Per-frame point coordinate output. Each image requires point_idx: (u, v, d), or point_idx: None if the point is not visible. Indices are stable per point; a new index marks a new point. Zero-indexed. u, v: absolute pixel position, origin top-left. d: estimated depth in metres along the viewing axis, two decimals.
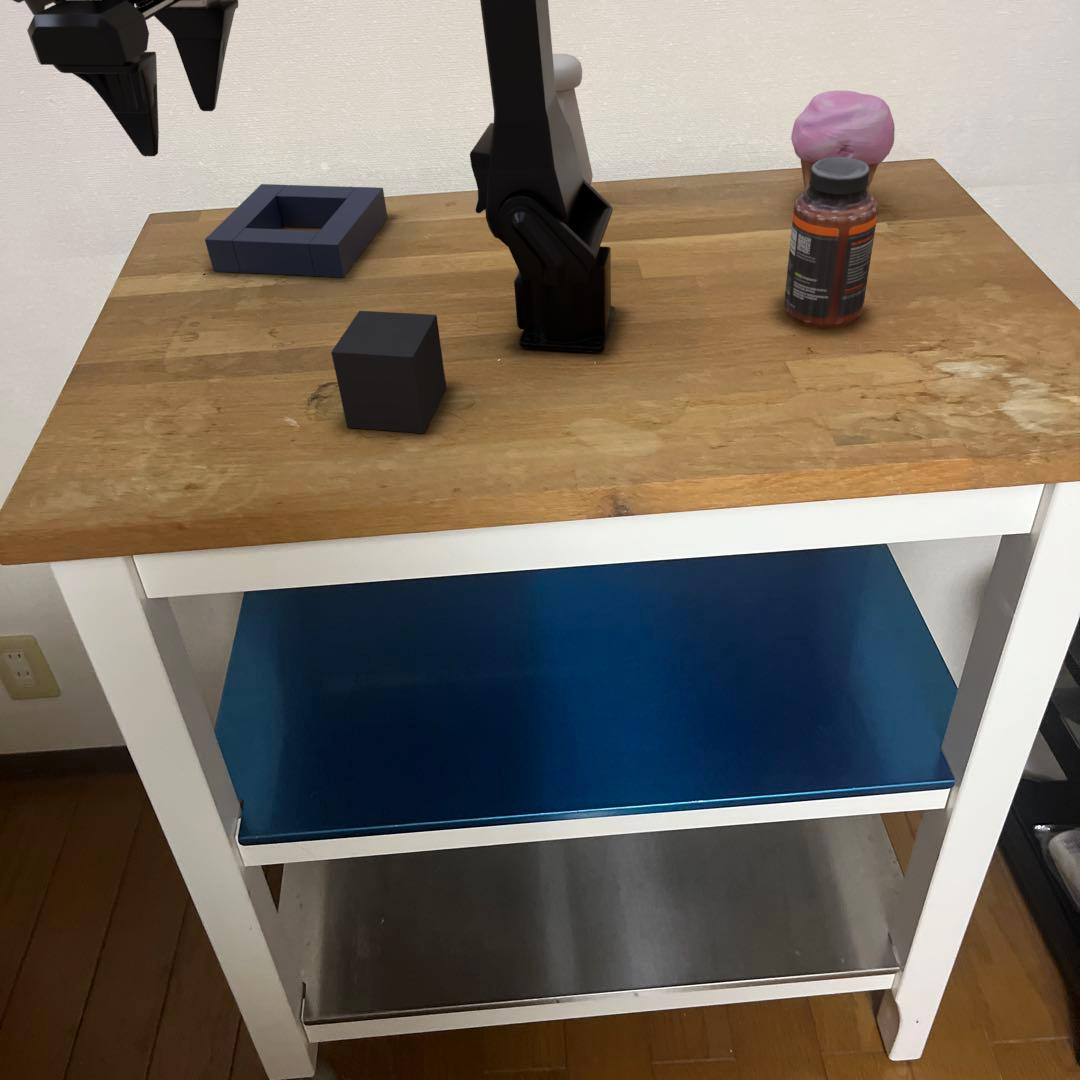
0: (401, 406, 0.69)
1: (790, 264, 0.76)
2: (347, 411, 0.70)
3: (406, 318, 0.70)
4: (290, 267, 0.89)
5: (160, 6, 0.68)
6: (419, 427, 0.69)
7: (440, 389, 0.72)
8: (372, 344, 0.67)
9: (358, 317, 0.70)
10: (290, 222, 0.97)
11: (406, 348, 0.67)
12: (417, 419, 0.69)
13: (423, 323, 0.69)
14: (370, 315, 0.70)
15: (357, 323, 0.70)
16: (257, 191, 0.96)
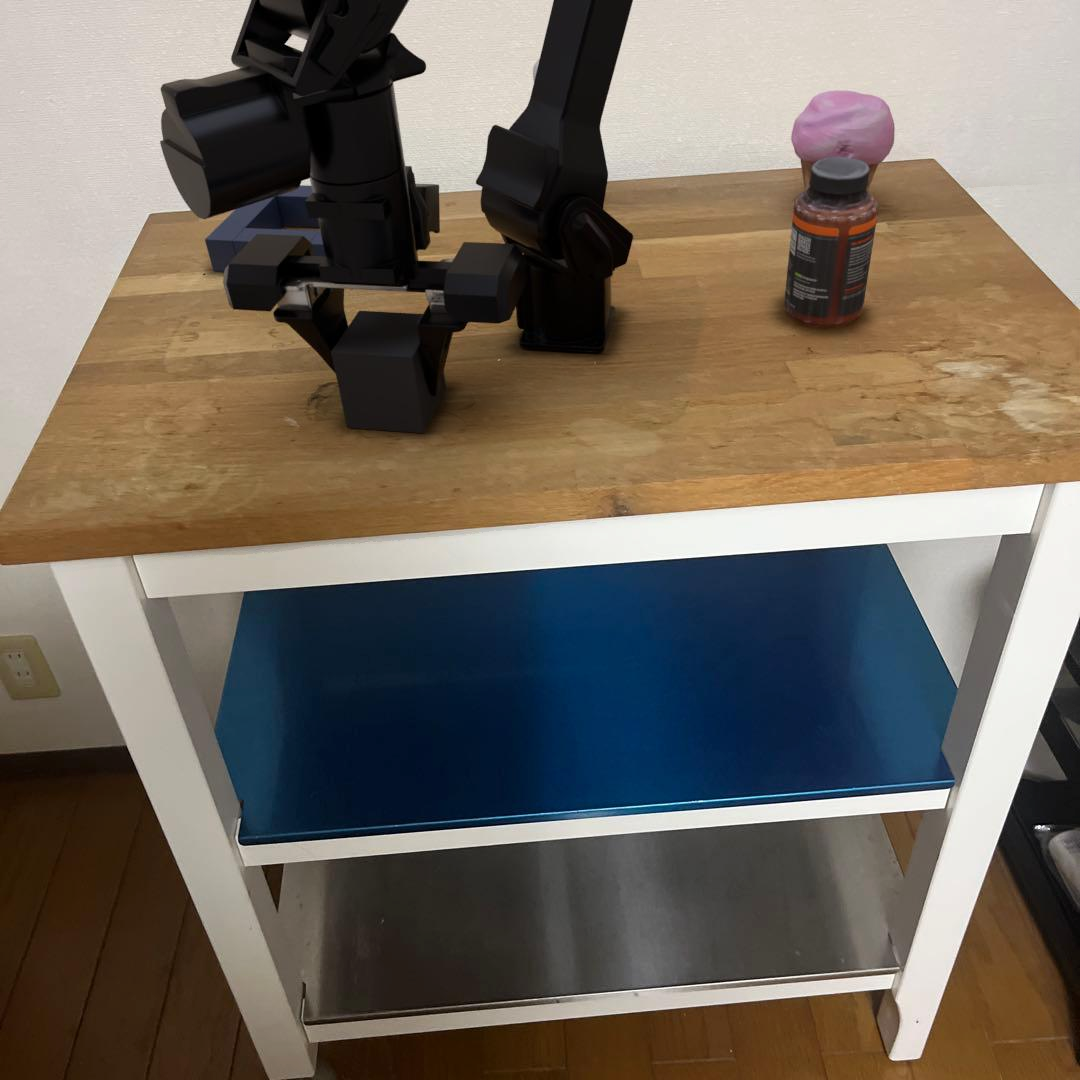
0: (401, 406, 0.69)
1: (790, 264, 0.76)
2: (347, 411, 0.70)
3: (406, 318, 0.70)
4: None
5: (350, 287, 0.65)
6: (419, 427, 0.69)
7: (440, 389, 0.72)
8: (372, 344, 0.67)
9: (358, 317, 0.70)
10: (290, 222, 0.97)
11: (406, 348, 0.67)
12: (417, 419, 0.69)
13: None
14: (370, 315, 0.70)
15: (357, 323, 0.70)
16: None
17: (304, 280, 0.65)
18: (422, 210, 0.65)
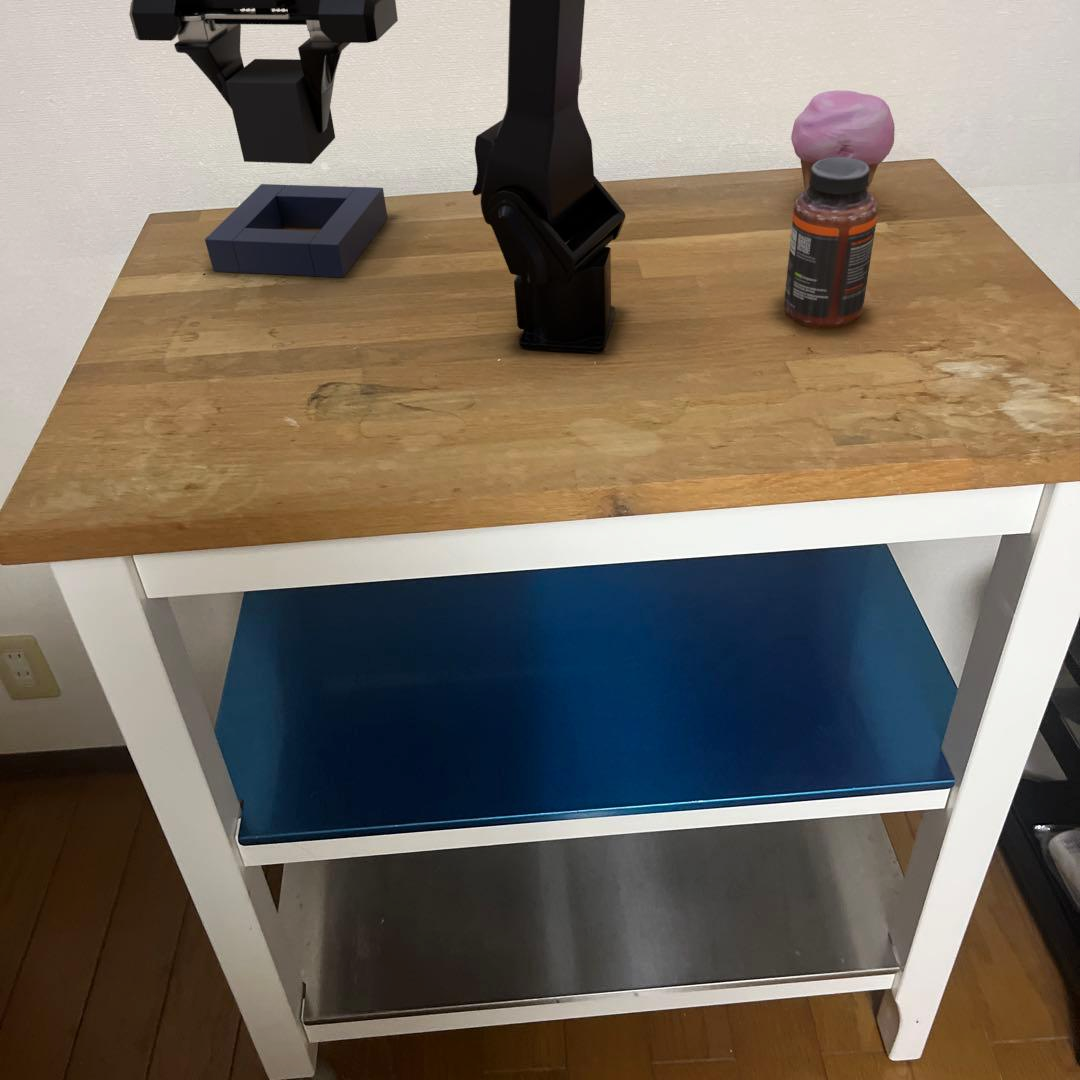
0: (289, 135, 0.78)
1: (790, 264, 0.76)
2: (243, 144, 0.79)
3: (295, 62, 0.79)
4: (290, 267, 0.89)
5: (240, 17, 0.74)
6: (306, 157, 0.79)
7: (329, 134, 0.82)
8: (262, 76, 0.77)
9: (253, 62, 0.80)
10: (290, 222, 0.97)
11: (291, 78, 0.76)
12: (304, 149, 0.79)
13: None
14: (264, 61, 0.80)
15: (251, 65, 0.79)
16: (257, 191, 0.96)
17: (200, 13, 0.75)
18: None
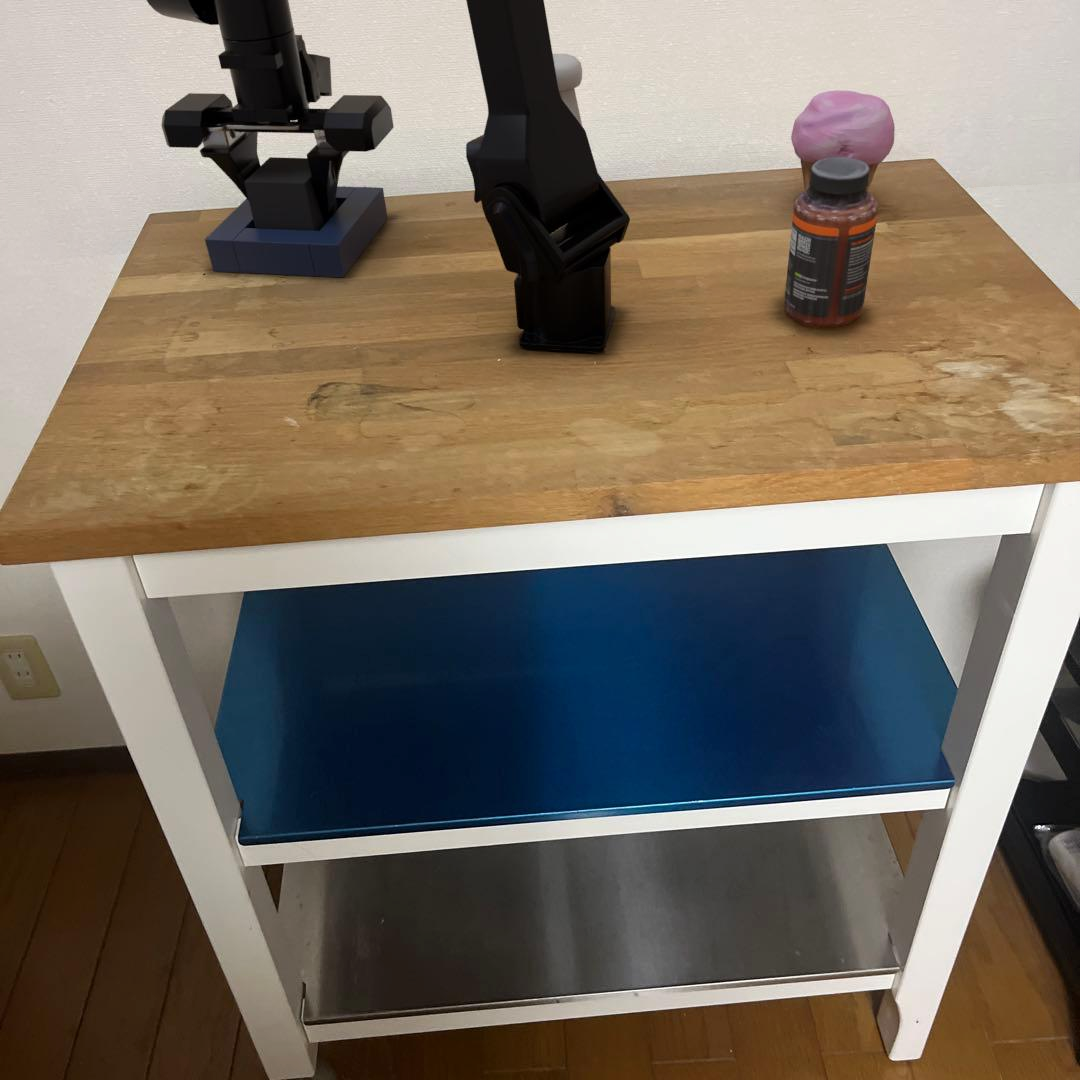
0: (299, 226, 0.89)
1: (790, 264, 0.76)
2: None
3: (305, 161, 0.91)
4: (290, 267, 0.89)
5: (257, 127, 0.86)
6: None
7: None
8: (276, 176, 0.88)
9: (268, 161, 0.91)
10: None
11: (301, 178, 0.88)
12: None
13: None
14: (277, 159, 0.91)
15: (267, 164, 0.91)
16: None
17: (222, 124, 0.86)
18: (311, 70, 0.86)
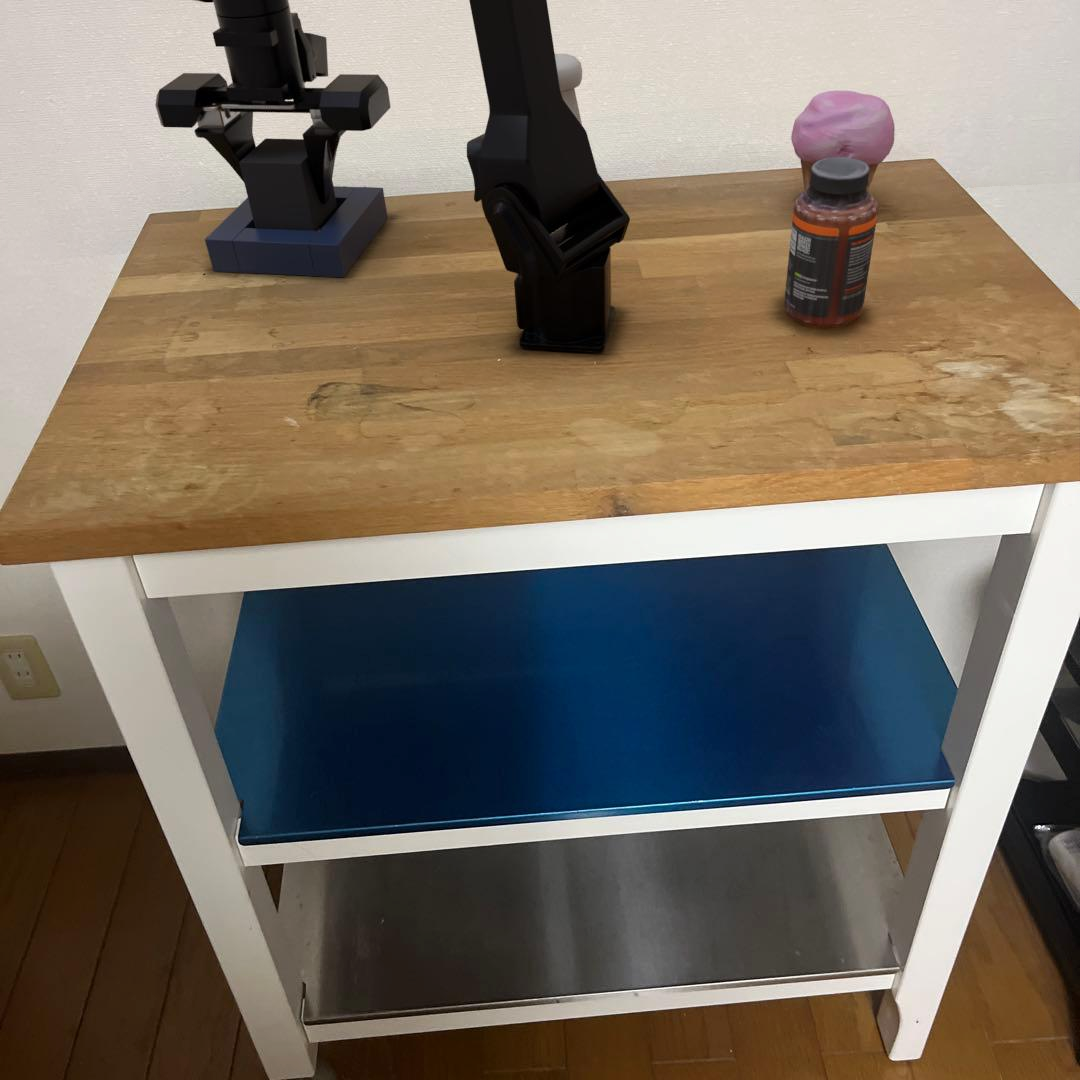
0: (295, 207, 0.88)
1: (790, 264, 0.76)
2: (255, 215, 0.90)
3: (301, 142, 0.90)
4: (290, 267, 0.89)
5: (252, 107, 0.85)
6: (310, 226, 0.89)
7: (331, 203, 0.92)
8: (271, 157, 0.87)
9: (264, 142, 0.90)
10: None
11: (296, 159, 0.86)
12: (308, 219, 0.89)
13: None
14: (273, 140, 0.90)
15: (262, 145, 0.89)
16: None
17: (217, 103, 0.85)
18: (307, 48, 0.85)
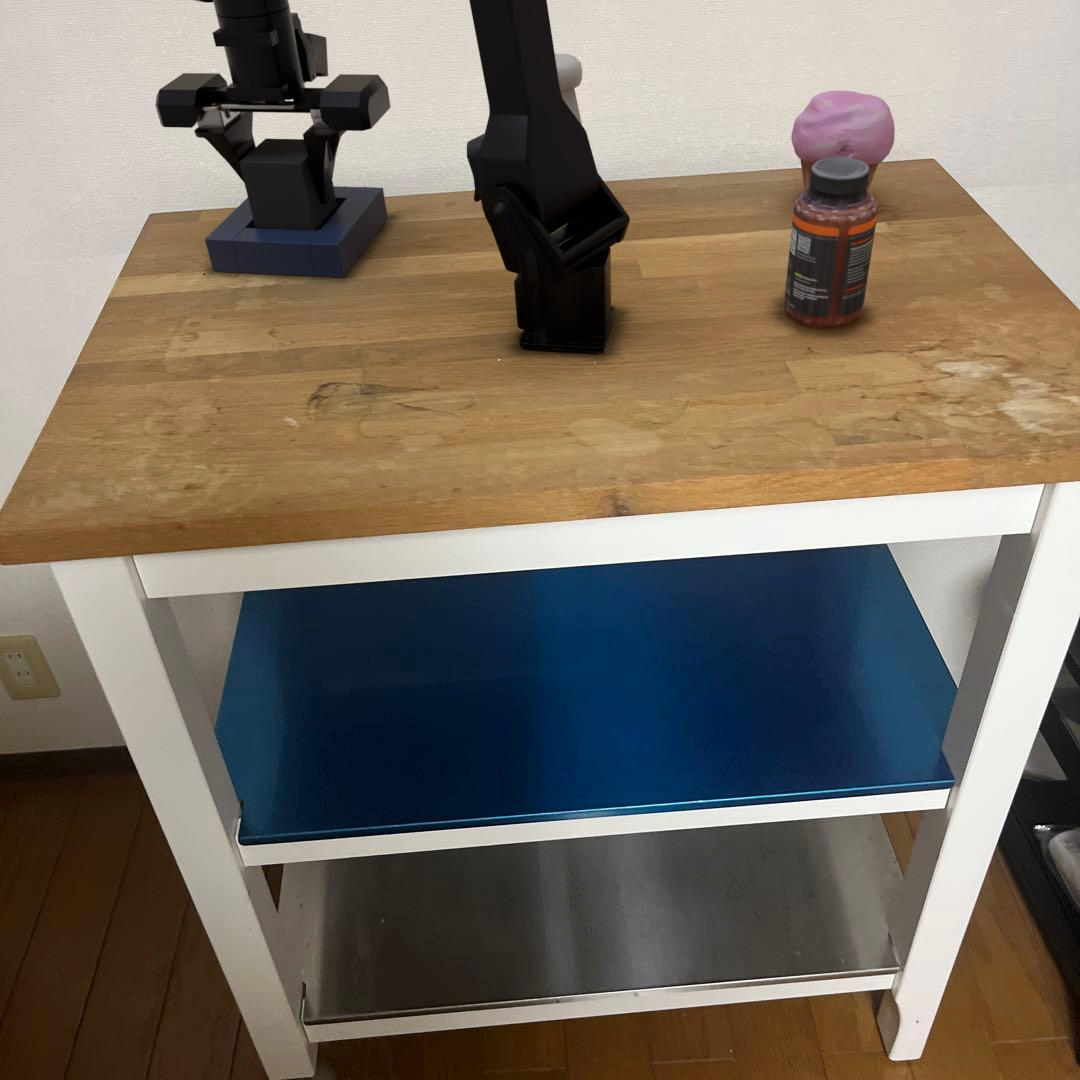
0: (295, 207, 0.88)
1: (790, 264, 0.76)
2: (255, 215, 0.90)
3: (301, 142, 0.90)
4: (290, 267, 0.89)
5: (252, 107, 0.85)
6: (310, 226, 0.89)
7: (331, 203, 0.92)
8: (271, 157, 0.87)
9: (264, 142, 0.90)
10: None
11: (296, 159, 0.86)
12: (308, 219, 0.89)
13: None
14: (273, 141, 0.90)
15: (262, 145, 0.89)
16: None
17: (217, 103, 0.85)
18: (307, 48, 0.85)
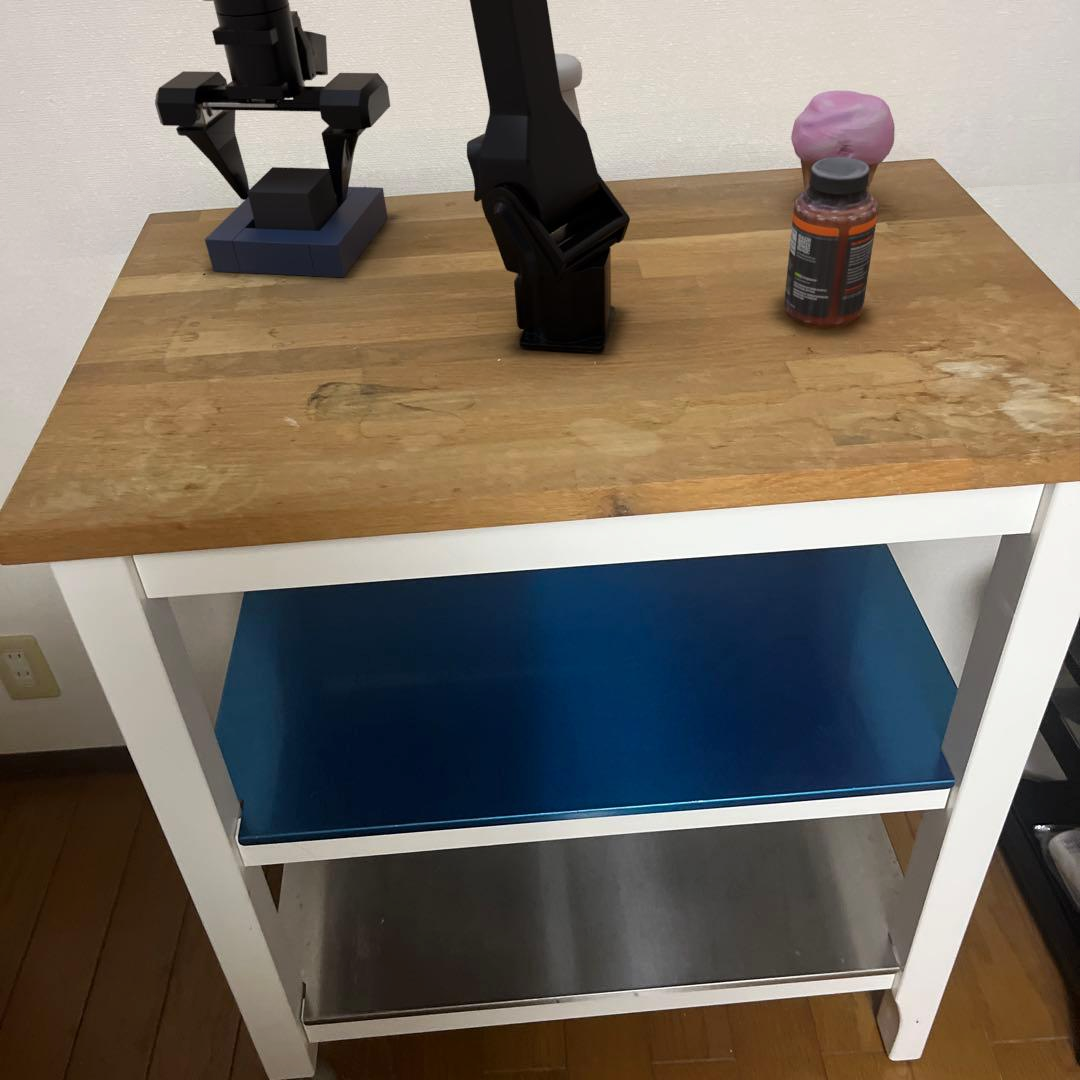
0: None
1: (790, 264, 0.76)
2: None
3: (307, 170, 0.91)
4: (290, 267, 0.89)
5: (252, 105, 0.84)
6: None
7: None
8: (279, 186, 0.89)
9: (271, 171, 0.92)
10: None
11: (303, 188, 0.88)
12: None
13: (319, 173, 0.91)
14: (280, 169, 0.92)
15: (269, 174, 0.91)
16: None
17: (217, 102, 0.85)
18: (307, 47, 0.85)
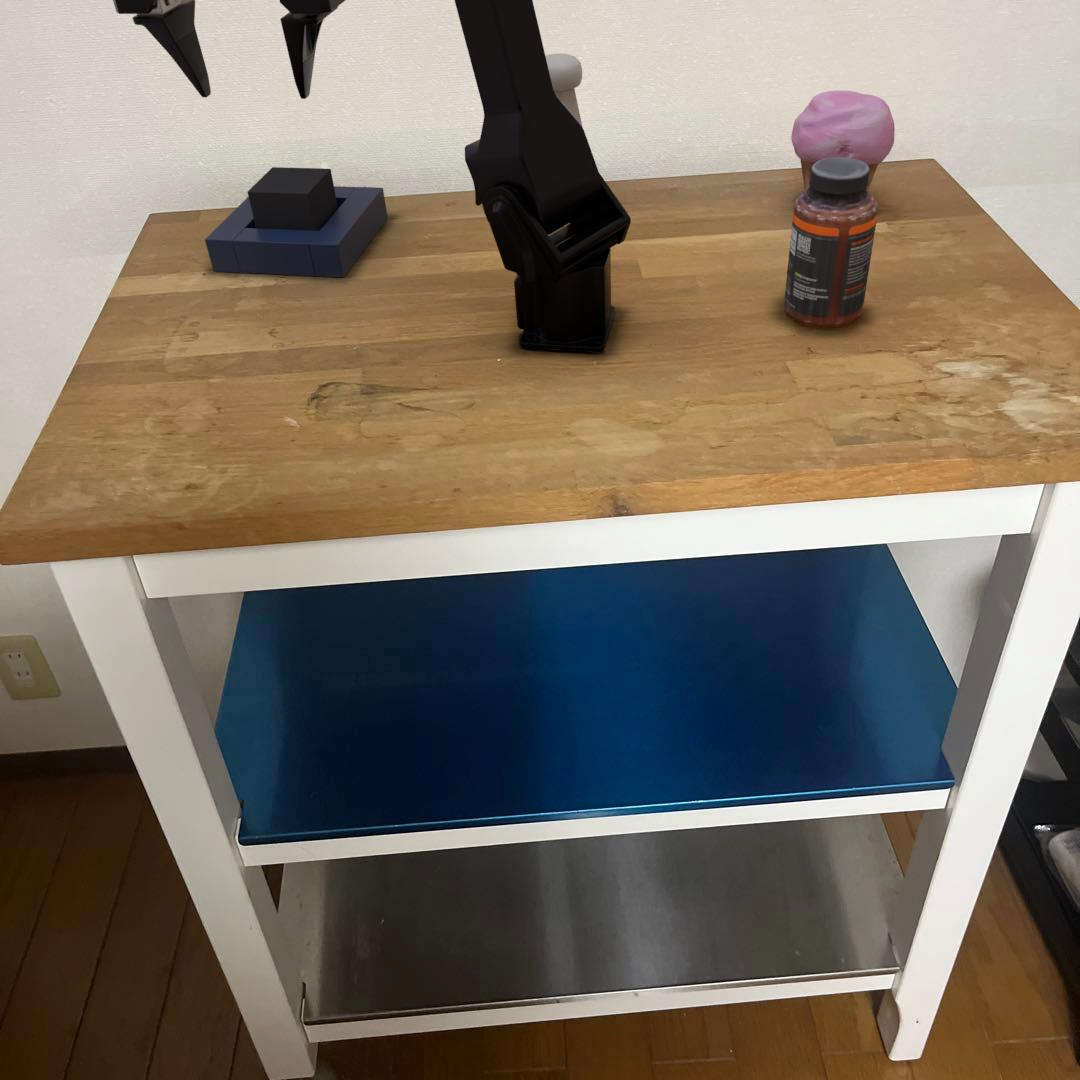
0: None
1: (790, 264, 0.76)
2: None
3: (307, 170, 0.91)
4: (290, 267, 0.89)
5: None
6: None
7: None
8: (279, 186, 0.89)
9: (271, 171, 0.92)
10: None
11: (303, 188, 0.88)
12: None
13: (319, 173, 0.91)
14: (280, 169, 0.92)
15: (269, 174, 0.91)
16: None
17: None
18: None
